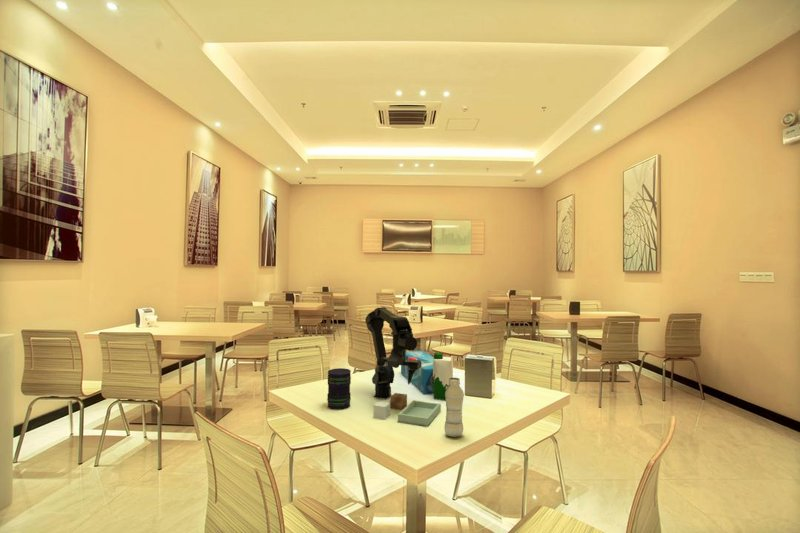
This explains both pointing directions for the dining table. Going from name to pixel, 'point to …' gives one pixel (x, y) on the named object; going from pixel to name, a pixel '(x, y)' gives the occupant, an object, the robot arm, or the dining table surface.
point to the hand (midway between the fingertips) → (398, 383)
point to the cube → (382, 410)
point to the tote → (419, 413)
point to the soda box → (421, 371)
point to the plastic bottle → (454, 408)
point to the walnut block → (398, 401)
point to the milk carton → (441, 375)
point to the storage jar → (339, 389)
